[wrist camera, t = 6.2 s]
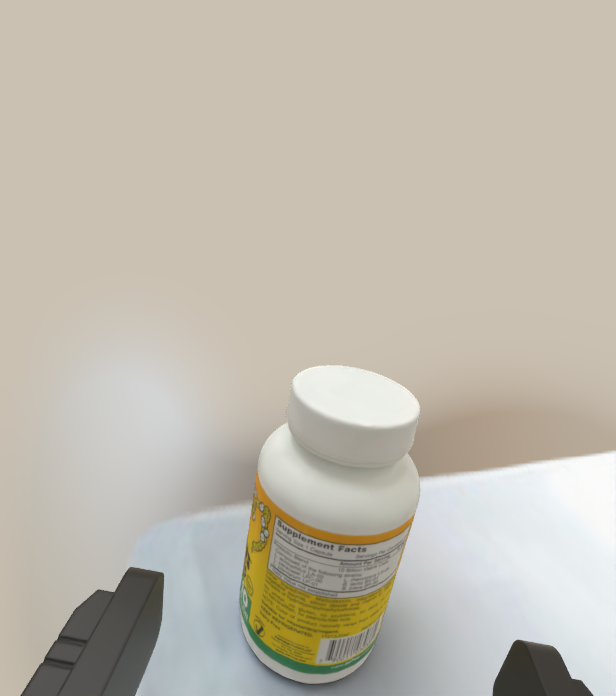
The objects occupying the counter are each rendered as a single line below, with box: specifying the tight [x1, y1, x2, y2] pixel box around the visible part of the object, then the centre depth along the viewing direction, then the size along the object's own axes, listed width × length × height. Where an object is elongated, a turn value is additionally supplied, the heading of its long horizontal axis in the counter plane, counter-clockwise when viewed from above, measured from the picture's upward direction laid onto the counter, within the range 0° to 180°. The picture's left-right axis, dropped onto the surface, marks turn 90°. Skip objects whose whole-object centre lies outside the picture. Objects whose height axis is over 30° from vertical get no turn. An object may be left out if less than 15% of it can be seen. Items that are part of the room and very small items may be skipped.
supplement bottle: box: [239, 365, 420, 684], centre depth 15 cm, size 5×5×10 cm
